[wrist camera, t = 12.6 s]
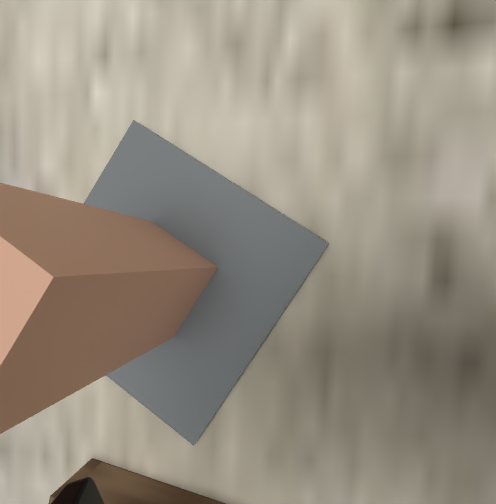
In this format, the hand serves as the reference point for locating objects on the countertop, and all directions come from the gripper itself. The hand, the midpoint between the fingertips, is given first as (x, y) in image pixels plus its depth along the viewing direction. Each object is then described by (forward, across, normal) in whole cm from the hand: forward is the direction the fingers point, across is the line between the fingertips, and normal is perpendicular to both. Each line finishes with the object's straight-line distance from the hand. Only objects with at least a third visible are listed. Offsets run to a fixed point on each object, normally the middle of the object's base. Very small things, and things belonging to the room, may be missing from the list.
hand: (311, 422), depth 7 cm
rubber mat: (+15, +4, +1) cm, 15 cm away
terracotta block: (+14, +4, 0) cm, 15 cm away
